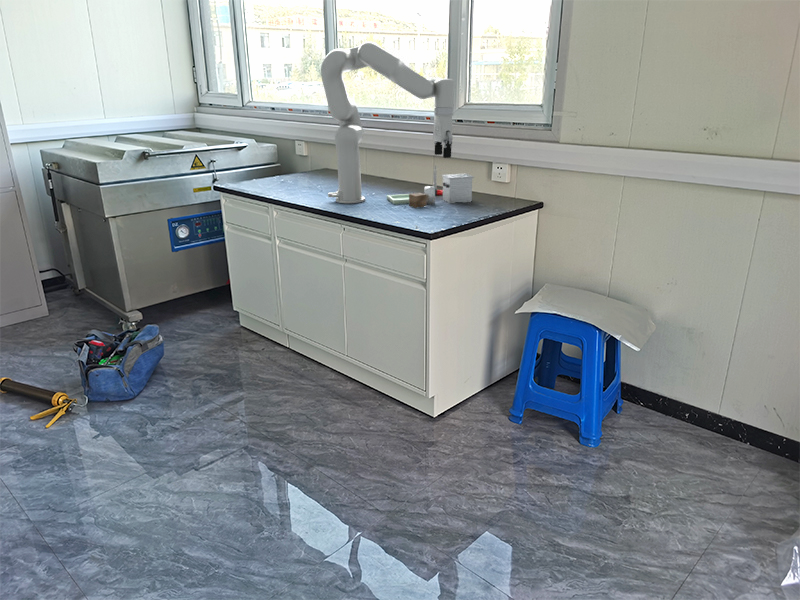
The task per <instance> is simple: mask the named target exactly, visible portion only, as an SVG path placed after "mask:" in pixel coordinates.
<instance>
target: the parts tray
mask: <svg viewBox="0 0 800 600" xmlns="http://www.w3.org/2000/svg"><path fill="white" fill-rule="evenodd" d="M409 194H410V193H404V194H403V193H401V194H389V195H388V194H387V195H386V200H387V201H388V202H390V203H391V204H392V203H393V204H392V205H394V204H396V205H407V204H406V203H409Z"/></svg>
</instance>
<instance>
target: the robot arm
mask: <svg viewBox="0 0 800 600" xmlns="http://www.w3.org/2000/svg"><path fill="white" fill-rule="evenodd" d="M320 66H321V67H320V76H321V77H320V78H321V80H322V84H323V88H324V93H325V97H326V101H327V104H328V108H329V113H330V116H331V117H332V118H333V119H334V120H335V121H337V122H338V124H339V127H338V128H337V130H336V131H335V135H334V143H335V150H336V151H335V152H336V157H337V158H336V159H337V162H336V163H337V175H338V176H337V177H338V178H337V180H338V189H337V191H335V192H328V193H327V197H328V198H333V199H334V198H335V201H336V203H339V204H350V205H351V204H359V203H363V202H365V201H366V197H365V196H363V195H362V177H361V169H362V168H361V153H360V145H359V144H360V143H361V142H362V141H363V139H364V130H363V129H364V128H363V124H362V121H361V117H360V112H359V108H358V105H357V103H356V101H355V100H354V99H353V98H352V97H350V96H349V95H348V92H347V88H346V83H345V81H344V78H343V73H347V72H353V71H357V70H360V69H364V68H370V69H372V70H373V71H375V72H377V73H378V74H380V75H382V76H384V78H386V79H388V80H389V81H391V82H392V83H394V84H395V85H397V86H399V88H402V89H404V91H407V92H408V93H409V94H411V95H413V96H414V97H416V98H418V99H420V100H426V99H430V98H434V107H433V108H434V111H433V113H434V119H433V129H432V130H433V132H432V133H433V134H432V139H433V140H434V155H436V156H437V155H441V156H442V158H443V159H449V158H452V147H453V146H452V144H453V139H454V137H453V117H454V104H455V103H454V100H455V80H453V79H452V78H438V79H435V78H434V79H433V78H428V77H427V78H426V77H424V76H423V75H420V74H419V73H418V72H416V71H414V70H413V69H411V68H410V67H409V66H408V65H406V64H405V62H404V61H403V60H401V59H400V58H399V57H397V56H395V55H394V54H392V53H390V52H389V51H387V50H386V49H384V48H382V47H381V46H380V45H379V44H378V43H376V42H374V41H370V40H367V41H364V42H363V43H361V44H360V45H357V46H355V47H350V48H335V49H333V50H331V51H329V53H327V55H326V56H325V57H324V58H323V60H322V63H321V65H320ZM443 146H444V147H443Z"/></svg>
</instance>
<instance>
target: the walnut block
mask: <svg viewBox="0 0 800 600" xmlns="http://www.w3.org/2000/svg"><path fill="white" fill-rule="evenodd" d="M408 194H409V204H408V205H409V207H411V206H412V207H411V208H414V207H415V208H414V209H418V208H417V207H420V208H425V207H424V206H426V207H427V205H426V194H424V193H421V192H413V193H408Z"/></svg>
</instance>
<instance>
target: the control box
mask: <svg viewBox="0 0 800 600" xmlns="http://www.w3.org/2000/svg"><path fill="white" fill-rule="evenodd" d="M441 177H442V190H443V194H442V201H444V200H445V202H446V201H447V202H449V203H450V204H456V203H455V202H463V203H472V202H471V201H472V198H473V179H474V176H473V175H471V174H469V173H467V172H466V173H464V172H463V173H451V174H450V173H448V174H441ZM447 202H446V203H447ZM449 203H448V204H449Z"/></svg>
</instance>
